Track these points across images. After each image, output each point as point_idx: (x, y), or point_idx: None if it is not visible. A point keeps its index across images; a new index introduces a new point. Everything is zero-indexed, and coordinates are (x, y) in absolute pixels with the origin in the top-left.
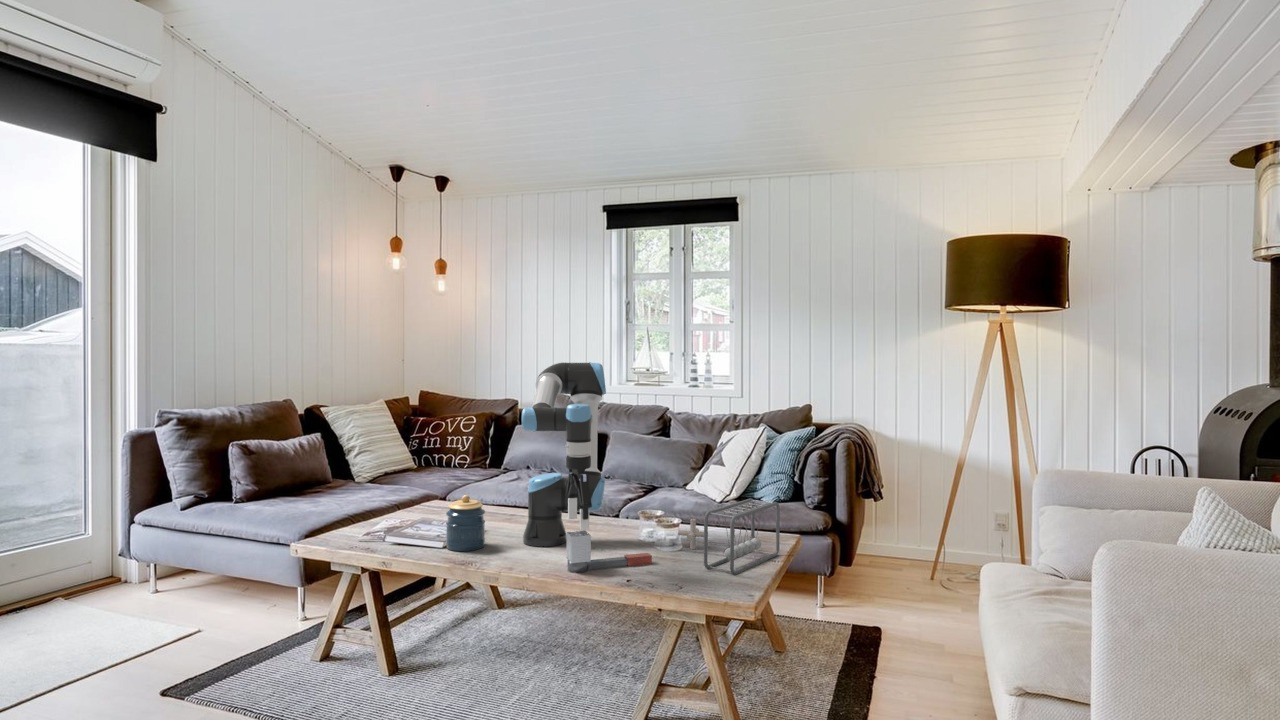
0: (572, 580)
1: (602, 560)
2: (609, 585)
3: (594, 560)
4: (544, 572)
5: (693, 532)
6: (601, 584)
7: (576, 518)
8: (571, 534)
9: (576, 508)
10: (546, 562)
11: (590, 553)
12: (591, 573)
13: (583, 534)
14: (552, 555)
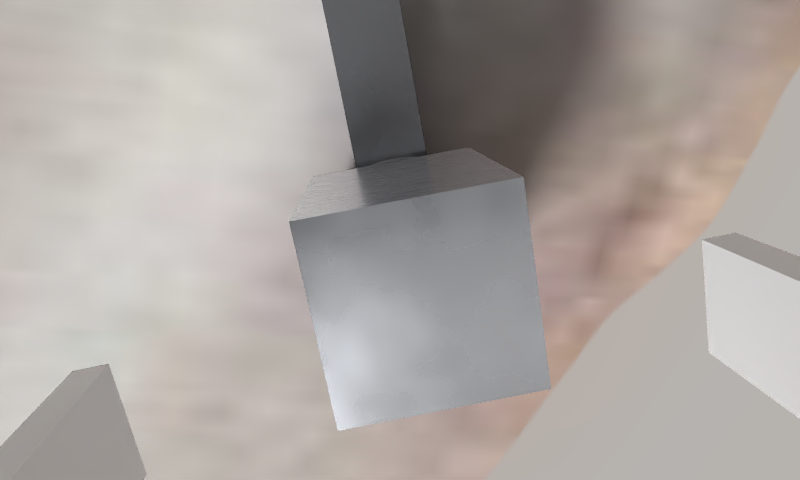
0: (622, 273)
1: (379, 37)
2: (783, 44)
3: (372, 104)
4: (426, 429)
5: None
6: (748, 96)
7: (111, 372)
8: (450, 385)
9: (34, 465)
10: (204, 417)
11: (481, 155)
12: (502, 138)
13: (473, 257)
14: (27, 378)
